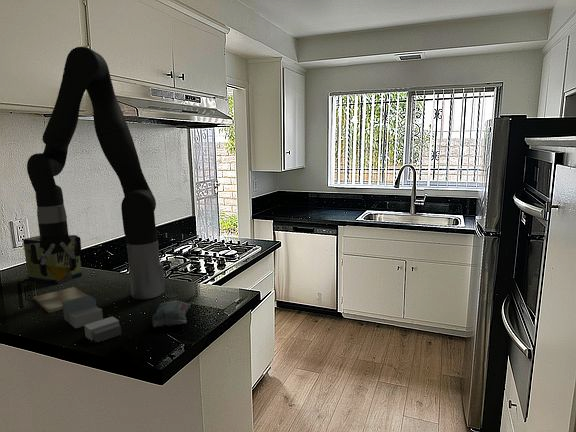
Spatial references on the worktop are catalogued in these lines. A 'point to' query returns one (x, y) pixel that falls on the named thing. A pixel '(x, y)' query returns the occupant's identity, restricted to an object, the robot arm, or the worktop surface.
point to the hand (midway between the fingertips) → (59, 273)
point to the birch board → (57, 298)
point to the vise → (90, 319)
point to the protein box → (49, 262)
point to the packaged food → (170, 313)
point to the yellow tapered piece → (60, 273)
